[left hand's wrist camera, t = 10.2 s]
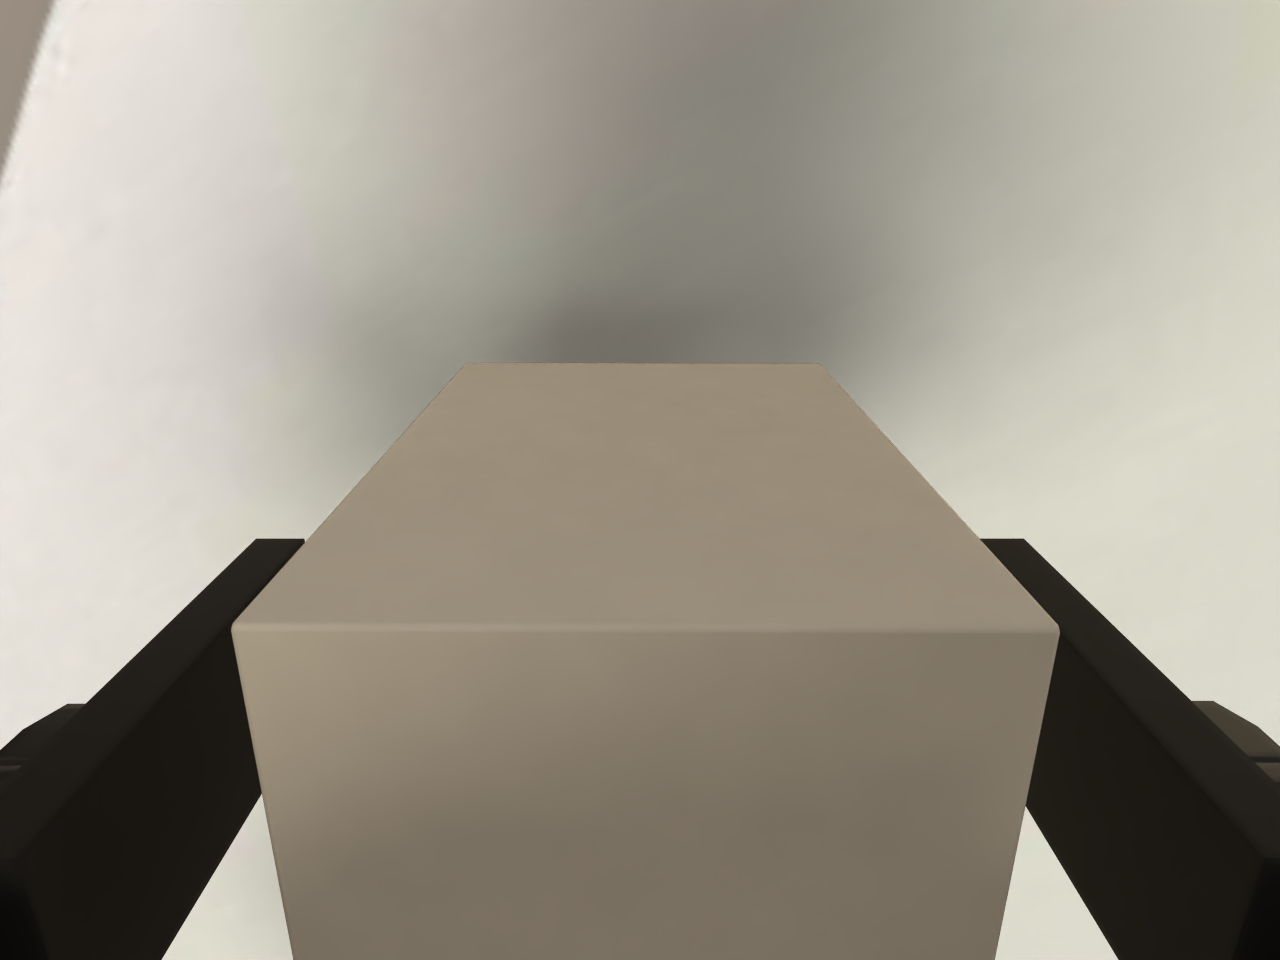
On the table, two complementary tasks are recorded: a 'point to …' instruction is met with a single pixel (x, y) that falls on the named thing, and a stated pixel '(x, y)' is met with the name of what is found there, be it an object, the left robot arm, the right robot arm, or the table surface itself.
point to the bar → (644, 683)
